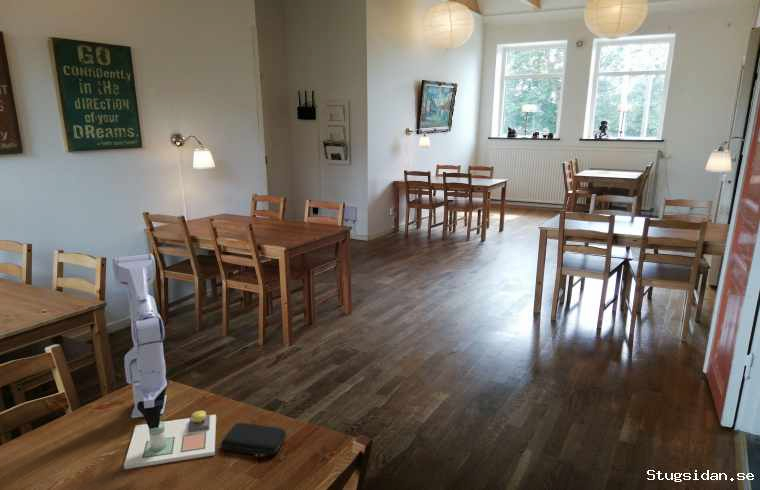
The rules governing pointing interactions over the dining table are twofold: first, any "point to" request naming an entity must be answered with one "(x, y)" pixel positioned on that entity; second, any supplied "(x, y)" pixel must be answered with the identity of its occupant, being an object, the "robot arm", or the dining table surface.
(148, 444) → the colouring board
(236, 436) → the carrying case or bag
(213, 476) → the dining table surface
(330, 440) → the dining table surface
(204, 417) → the button
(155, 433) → the green bulb-shaped piece
